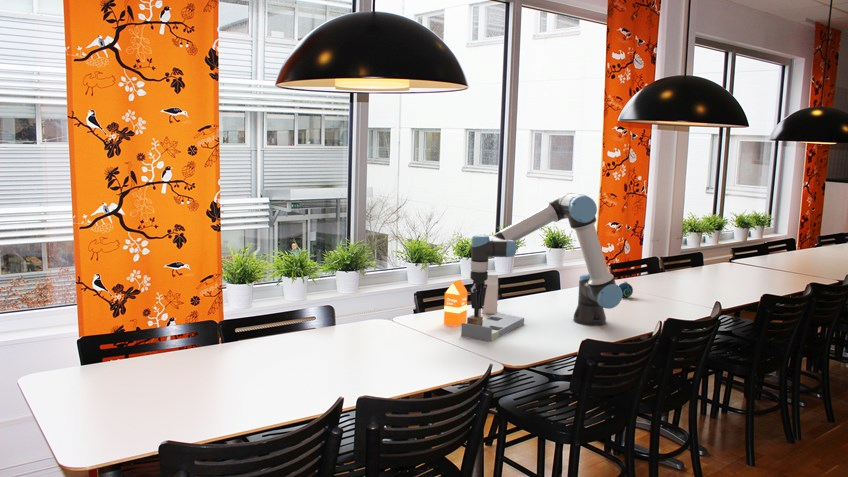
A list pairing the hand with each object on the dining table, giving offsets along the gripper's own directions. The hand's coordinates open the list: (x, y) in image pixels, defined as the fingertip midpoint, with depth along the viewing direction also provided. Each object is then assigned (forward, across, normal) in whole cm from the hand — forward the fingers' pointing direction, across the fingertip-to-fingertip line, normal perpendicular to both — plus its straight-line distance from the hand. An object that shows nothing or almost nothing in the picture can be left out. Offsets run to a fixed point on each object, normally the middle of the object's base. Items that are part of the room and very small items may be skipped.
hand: (477, 323), depth 292 cm
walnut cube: (+2, +3, 0) cm, 4 cm away
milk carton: (+5, -38, -12) cm, 40 cm away
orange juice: (+5, -10, -16) cm, 20 cm away
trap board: (+5, -10, +4) cm, 12 cm away
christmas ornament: (+5, -115, +34) cm, 120 cm away
